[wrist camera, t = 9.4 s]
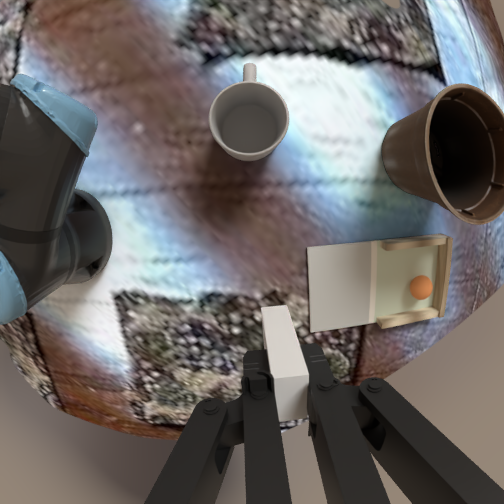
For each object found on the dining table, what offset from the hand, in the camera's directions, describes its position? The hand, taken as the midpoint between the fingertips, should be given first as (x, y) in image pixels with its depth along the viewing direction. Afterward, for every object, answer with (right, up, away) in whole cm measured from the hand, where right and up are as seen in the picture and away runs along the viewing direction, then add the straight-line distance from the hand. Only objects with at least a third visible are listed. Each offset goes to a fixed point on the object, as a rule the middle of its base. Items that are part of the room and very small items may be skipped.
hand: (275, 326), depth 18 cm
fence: (+25, 0, +27) cm, 37 cm away
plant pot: (+24, +20, +23) cm, 38 cm away
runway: (+19, 0, +28) cm, 34 cm away
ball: (+26, -1, +25) cm, 36 cm away
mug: (-2, +23, +21) cm, 31 cm away
